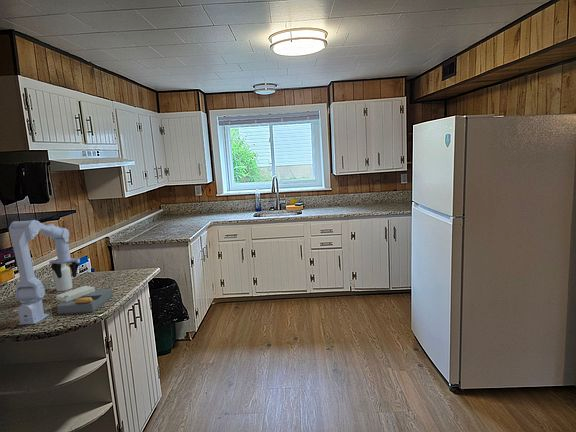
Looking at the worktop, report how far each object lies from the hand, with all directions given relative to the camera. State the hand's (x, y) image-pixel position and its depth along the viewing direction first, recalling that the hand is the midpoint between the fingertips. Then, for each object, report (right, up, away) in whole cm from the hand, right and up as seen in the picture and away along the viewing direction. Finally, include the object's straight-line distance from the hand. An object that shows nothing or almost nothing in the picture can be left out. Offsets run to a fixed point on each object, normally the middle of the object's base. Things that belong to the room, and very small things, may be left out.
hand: (67, 277), depth 199 cm
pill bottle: (-9, -9, +14) cm, 19 cm away
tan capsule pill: (+19, -8, -21) cm, 30 cm away
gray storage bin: (+17, -11, -12) cm, 24 cm away
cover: (+11, -7, -11) cm, 17 cm away
